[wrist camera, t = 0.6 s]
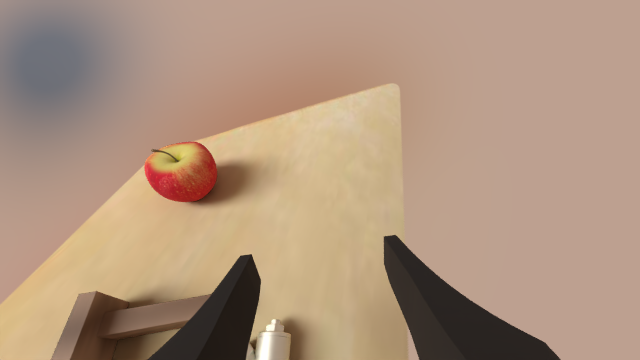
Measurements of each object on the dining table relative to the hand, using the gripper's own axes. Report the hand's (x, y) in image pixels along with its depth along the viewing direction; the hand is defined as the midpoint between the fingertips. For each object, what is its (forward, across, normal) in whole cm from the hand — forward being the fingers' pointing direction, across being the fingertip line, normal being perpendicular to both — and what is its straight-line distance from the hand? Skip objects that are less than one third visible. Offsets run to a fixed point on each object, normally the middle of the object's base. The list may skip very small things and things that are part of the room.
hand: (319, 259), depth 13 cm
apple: (+23, +19, +6) cm, 30 cm away
